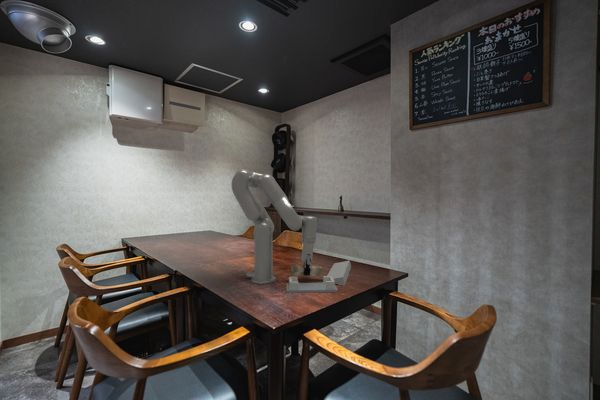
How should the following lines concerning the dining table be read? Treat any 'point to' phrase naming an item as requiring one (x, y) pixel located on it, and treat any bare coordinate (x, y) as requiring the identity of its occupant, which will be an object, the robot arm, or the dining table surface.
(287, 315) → the dining table surface
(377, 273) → the dining table surface
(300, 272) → the slat
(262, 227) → the robot arm
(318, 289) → the cradle
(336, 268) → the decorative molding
